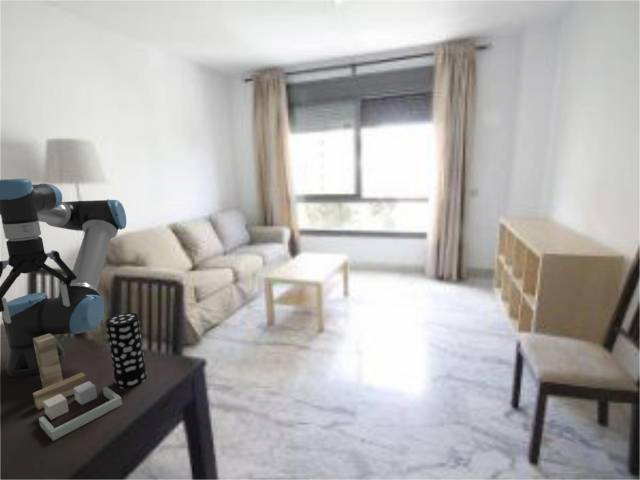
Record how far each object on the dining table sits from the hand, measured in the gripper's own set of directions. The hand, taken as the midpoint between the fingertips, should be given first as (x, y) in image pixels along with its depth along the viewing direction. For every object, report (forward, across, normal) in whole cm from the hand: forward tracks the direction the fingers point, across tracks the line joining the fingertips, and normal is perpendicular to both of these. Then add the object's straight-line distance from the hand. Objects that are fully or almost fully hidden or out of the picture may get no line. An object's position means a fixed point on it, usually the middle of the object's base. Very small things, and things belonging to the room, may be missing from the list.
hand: (38, 313), depth 102 cm
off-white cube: (+24, -3, -13) cm, 27 cm away
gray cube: (+24, +4, -13) cm, 27 cm away
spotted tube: (+24, +15, -14) cm, 32 cm away
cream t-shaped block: (+23, 0, -3) cm, 24 cm away
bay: (+24, 0, -19) cm, 31 cm away
